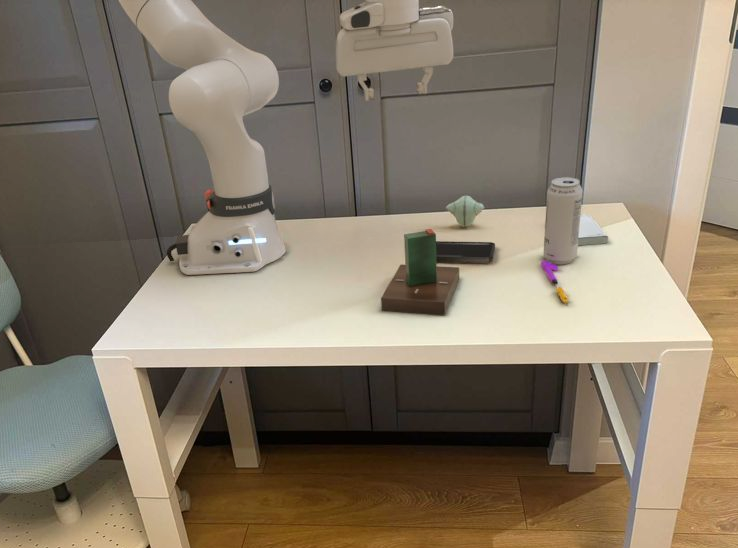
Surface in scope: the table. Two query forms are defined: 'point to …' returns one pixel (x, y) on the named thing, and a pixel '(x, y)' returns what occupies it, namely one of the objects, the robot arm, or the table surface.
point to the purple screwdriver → (554, 278)
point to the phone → (464, 252)
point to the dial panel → (421, 293)
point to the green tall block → (420, 257)
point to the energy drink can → (562, 220)
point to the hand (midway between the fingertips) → (395, 96)
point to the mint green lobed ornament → (465, 210)
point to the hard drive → (590, 231)
